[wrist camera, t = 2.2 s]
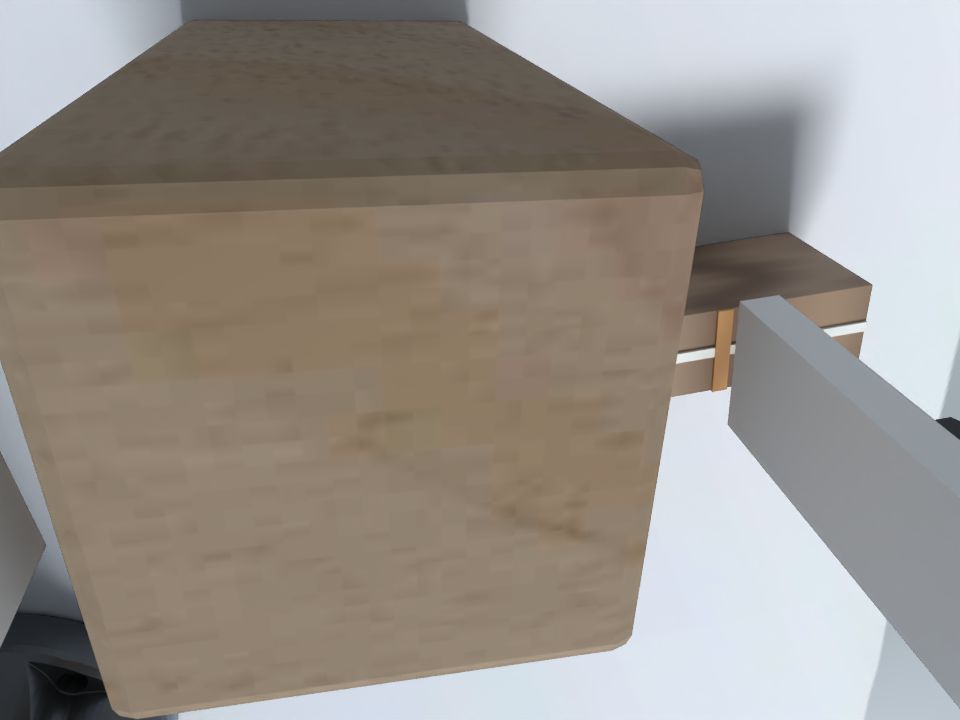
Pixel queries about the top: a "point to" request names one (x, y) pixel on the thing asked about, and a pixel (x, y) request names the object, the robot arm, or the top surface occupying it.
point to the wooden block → (342, 356)
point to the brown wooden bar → (756, 274)
